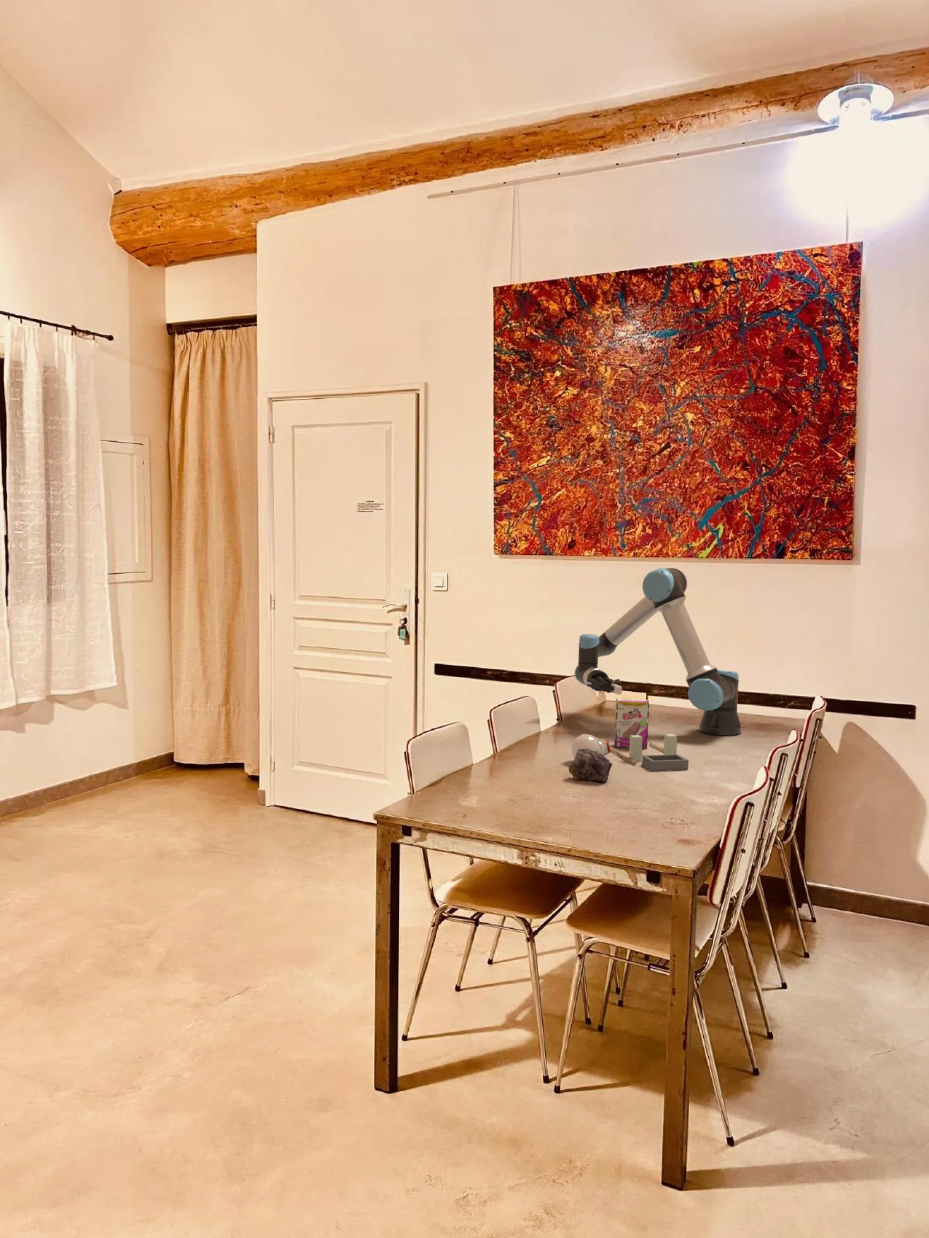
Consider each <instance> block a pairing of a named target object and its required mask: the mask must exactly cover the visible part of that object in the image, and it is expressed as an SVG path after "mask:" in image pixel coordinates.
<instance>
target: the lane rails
mask: <svg viewBox="0 0 929 1238" xmlns="http://www.w3.org/2000/svg"><path fill="white" fill-rule="evenodd" d="M649 746H652V747H653V748H655V749H656V750H658V751H659V752H662V753H664V746H662V745H659V744H657V743H656V742H653V741H649ZM609 747H610V752H611V753H613V754H615V755H616V756H618V757H620V758H621V759H622V760H624V761H626V762H627V763H629V764H631V765H632V766H637V762H636V761H634V760H632V759H631V758H629V756H628V755H626V754H624V753H623V752H621V751H619V750H617V748H615V747H613V746H611V745H610V744H609Z"/></svg>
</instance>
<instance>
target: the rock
mask: <svg viewBox="0 0 929 1238" xmlns="http://www.w3.org/2000/svg"><path fill="white" fill-rule="evenodd" d="M573 758H574V757H573ZM612 767H613V763H612V762H610V760H609V759H608V758H607V757H606V756H603V755H602V754H600V753H597V752H595V751H592V750H589V749H579V750H578V751H577V754H576V756H575V758H574V759H573V761H572V762H571V764H569V766H568V772H569V773H570V774H571V776H572V778H573V779H575V780H576V781H588V782H589V781H598V782H600V783H607V782H608V779H609V775H610V771H611V768H612Z"/></svg>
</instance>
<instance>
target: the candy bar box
mask: <svg viewBox="0 0 929 1238" xmlns="http://www.w3.org/2000/svg"><path fill="white" fill-rule="evenodd" d="M649 714H650V701H649V700H648V699H638V698H637V699H636V698H635V699H634V698H616V699H615V714H614V715H615V716H614V717H615V718H614V719H615V720H614V736H613V737H614V739H613V740H614V741H613V745H614V749H630V735H639V736H641V737H642V750H647V749H648V739H649V738H648V737H649Z"/></svg>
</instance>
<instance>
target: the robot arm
mask: <svg viewBox="0 0 929 1238" xmlns="http://www.w3.org/2000/svg"><path fill="white" fill-rule="evenodd" d="M687 586H688V580H687V577H686V575H685V574H684V572H683V571H681V569H679V568H674V567H667V568H666V567H665V568H663V567H662V568H660V567H659V568H657V569H653V570H651V571H649V572H648V573H647V574H646V575H645V577H644V578H643V581H642V587H641V588H642V592H643V594H644V597H642V599H640V600H639V601H638V602H636V604H635V605H633V606H632V607H631V608H630V609H629V610H628V611H627V612H625V613H624V614H623V615H622V616H621V617H620V618H618V619H617V620H616V621H615V622H614V623H612V625H611V626H609V627H608V628H607V629H606V630H605V631H603V633H602V634H600V635H598V634H592V633H583V634H580V635H579V639H578V641H579V642H578V661H577V662H578V663H577V666H576V667H575V670H574V671H573V673H574V677H575V680H577V682H579V683H580V684H582V685H584V686H586V687H589V688H590V689H591V690H594V691H596V692H597V691H598V692H601V691H602V692H603V691H605V690H606V693H608V694H610V693H614V694H616V695H622V689H623V687H622V682H621V681H620V680H621V679H619V678H617V679H614V680H613V679H612V678H609V675H608V674H607V673H606V672H605V671H603V670H601V669H598V668H599V667H598V666H599V665H598V664H599V658H601V657H605V656H610V655H611V654H613V653H614V652H615V650H616V649H617V647H618V646H619V645H620V644H621V643H623V642H624V641H626V639H627V638H629V637H630V636H631V635H633V633H635V632H636V631H637V630H638V629H639V628H640V627H642V626H643V625H644V624H646V623H647V621H649V620H650V619H651V618H652V617H653V616H654V615H655V614H657V613H661V614H662V617H663V620H664V622H665V623H666V627H667V628H668V631H669V633H670V635H671V638H672V640H673V642H674V644H675V647H676V650H677V652H678V654H679V656H680V659H681V660H682V663H683V666H684V668H685V671H686V672H687V674H686V677H685V681H686V683H687V686H688V691H687V696H688V699H689V701H690V703H691V704H692V706H694V707H695V708H697V709H698V710H701V711H703V714H702V716H701V719H700V721H699V724H698V725H699V726H698V730H699V731H700V732H701V733H703V732H704V733H703V734H708V735H712V734H716V735H715V736H723V735H726V736H727V735H728V737H729V736H730V735H731V736H737V735H736V734H738V735H741V734H742V725H741V721H740V718H739V714H738V702H739V701H738V698H739V682H740V680H739V674H738V672H736V671H730V670H721V669H718V668H717V667H716V666H714V665H712V664H711V663H710V660H709V659H708V656H707V653H706V651H705V649H704V647H703V645H702V642H701V639H700V638H699V636H698V633H697V630H696V628H695V627H694V623H693V621H692V619H691V617H690V615H689V613H688V609H687V608H686V606H685V601H686V595H685V592H686V590H687ZM740 733H741V734H740Z"/></svg>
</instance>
